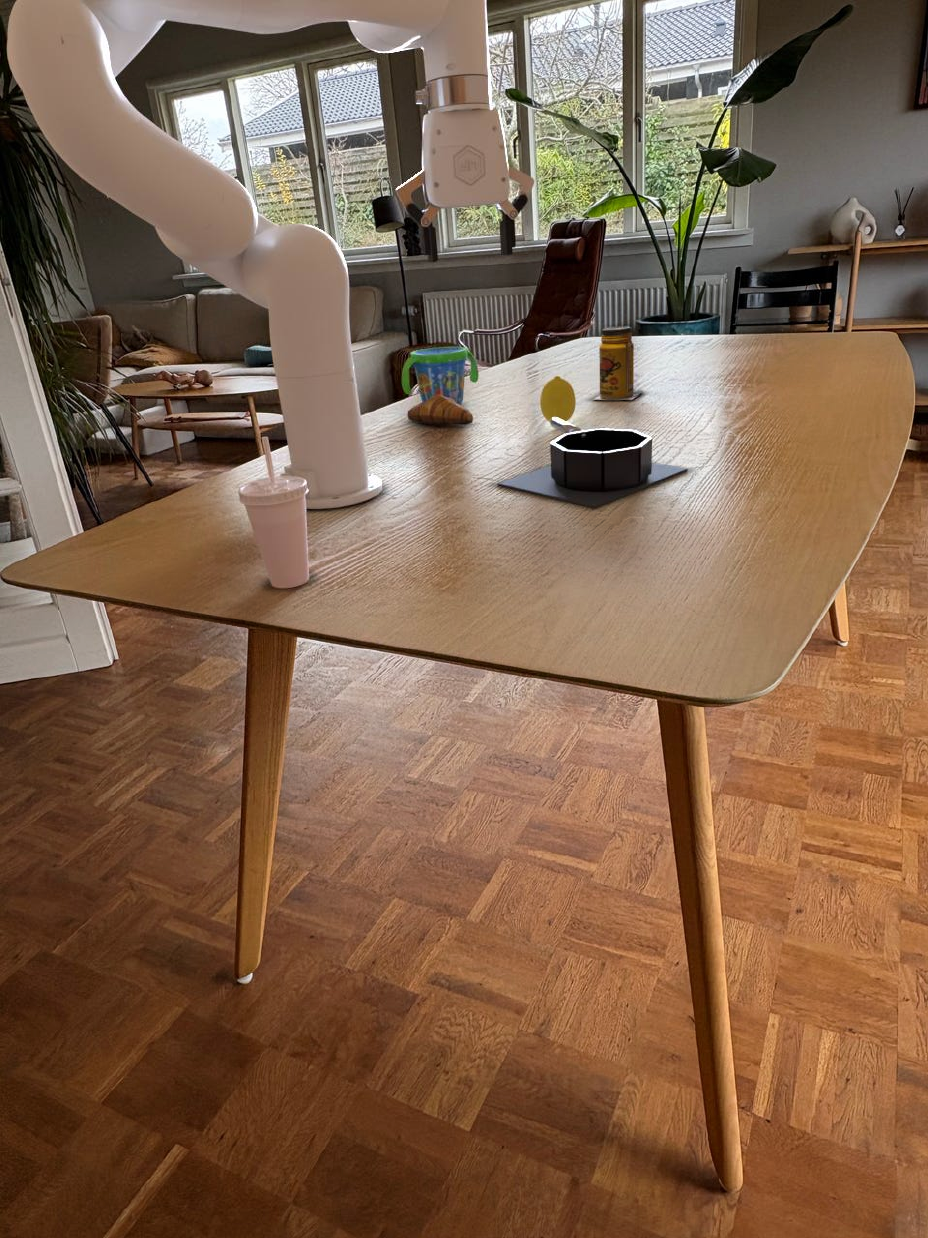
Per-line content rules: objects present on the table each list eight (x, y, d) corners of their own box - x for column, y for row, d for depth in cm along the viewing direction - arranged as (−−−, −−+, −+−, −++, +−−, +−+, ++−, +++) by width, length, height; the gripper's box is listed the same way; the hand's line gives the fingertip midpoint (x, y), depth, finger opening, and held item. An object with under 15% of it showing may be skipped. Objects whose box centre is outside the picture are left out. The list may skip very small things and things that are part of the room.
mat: (594, 508, 92) (594, 505, 92) (497, 485, 103) (497, 483, 103) (687, 470, 102) (687, 468, 102) (589, 453, 113) (589, 451, 113)
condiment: (592, 400, 146) (591, 330, 141) (607, 391, 153) (606, 324, 148) (631, 401, 143) (632, 329, 138) (644, 391, 150) (646, 323, 144)
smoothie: (326, 565, 82) (303, 427, 76) (318, 590, 76) (293, 444, 70) (263, 571, 82) (236, 433, 76) (251, 596, 76) (219, 450, 70)
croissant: (483, 421, 137) (481, 391, 135) (460, 430, 132) (457, 399, 130) (422, 416, 145) (419, 388, 143) (397, 425, 140) (394, 396, 138)
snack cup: (467, 396, 159) (463, 342, 155) (493, 403, 151) (489, 346, 146) (394, 409, 153) (388, 353, 149) (417, 417, 145) (411, 358, 140)
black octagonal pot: (665, 482, 97) (666, 442, 95) (576, 497, 95) (575, 456, 93) (591, 445, 116) (591, 410, 114) (515, 456, 114) (514, 422, 111)
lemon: (575, 422, 131) (574, 371, 128) (576, 430, 126) (575, 377, 123) (541, 424, 132) (539, 374, 129) (541, 432, 127) (539, 380, 124)
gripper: (391, 98, 90) (407, 265, 98) (539, 89, 93) (544, 252, 100) (382, 108, 97) (398, 264, 104) (521, 100, 100) (527, 252, 107)
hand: (470, 258), depth 102 cm, fingers open, 9 cm apart
